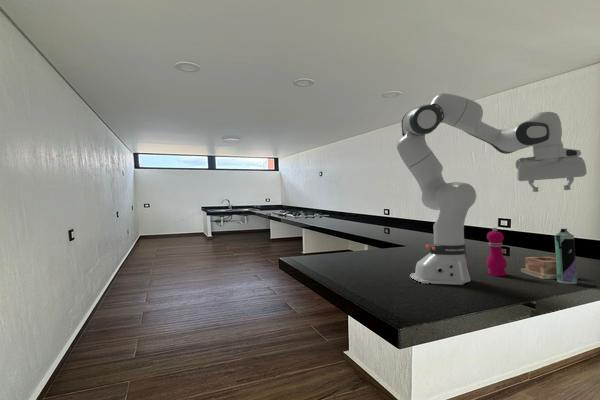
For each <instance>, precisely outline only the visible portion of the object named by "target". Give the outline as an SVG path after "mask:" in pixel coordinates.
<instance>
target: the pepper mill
mask: <svg viewBox="0 0 600 400" xmlns="http://www.w3.org/2000/svg"><path fill="white" fill-rule="evenodd" d="M504 238H505V237H504V235H503V233H502V232H501V231H498V228H497V227H494V226H493V227H492V231H489V232H487V234H486V240H487V241H488V247H489V255H488V256H487V258H486V266H487V267H488V270H487V272H488V275H490V276H495V277H505V276H506V275H507V271H506V270H505V269H507V266H508V265H507V260H506V259H505V257H504V254H503V250H502V247H503V241H504V240H505V239H504Z"/></svg>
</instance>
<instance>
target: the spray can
mask: <svg viewBox="0 0 600 400" xmlns="http://www.w3.org/2000/svg"><path fill="white" fill-rule="evenodd" d="M575 243H576V242H575V236H574V234H572V233H570V231H568V229H567V228H560V231H559V232H558V233H556V234H555V235H554V246H555V247H554V248H555V258H556V268H557V279H556V281H557V282H558V283H560V284H566V285H577V284H578V279H577V262H576V261H577V260H576V244H575Z"/></svg>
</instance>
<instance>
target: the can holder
mask: <svg viewBox="0 0 600 400" xmlns="http://www.w3.org/2000/svg"><path fill="white" fill-rule="evenodd" d="M524 260H525V261H524V263H525V267H523V268H520V272H521V273H524V274H527V275H528V276H529V275H530V276H533V277H536V278H540V279H543V280H557V268H556V257H553V256H530V257H529V256H527V257H524ZM579 277H580V276H579V274H577V280H578V279H579Z"/></svg>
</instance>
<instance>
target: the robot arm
mask: <svg viewBox="0 0 600 400" xmlns="http://www.w3.org/2000/svg"><path fill="white" fill-rule="evenodd" d="M483 115H484V110H483V107H482V105H481V104H480V103H478V102H476V101H474V100H472V99H469V98H466V97H464V96H461V95H456V94H451V93H445V92H442V93H438V94H437V95H436V96H434V97H433V99H432V100H431V102H430V103H429V104H424V105H420V106H417V107H413V108H412V109H411V110H409V111H408V112H406V113H405V114H404V115H403V117H402V119H401V131H402V133H401V134H402V137H401V138H400V139H399V141H398V142H397V144H396V150H397V152H398V154H399V156H400V158H401V160H402V162H403V163H404V165H405V166H406V167H407V168H408V170H409V171H410V173H411V174H412V176H413V178H415V180H416V183H418V186H419V188H420V191H421V202H422V204H423V205H424V206H425V207H426V208H428V209H431V210H435V211H439V214H438V218H437V219H436V221H435V222H434V223H433V226H432V227H433V228H432V229H433V243H432V244H426V245H425V248H426V250H429V253H427V254H426V255H425V256H424V257H422V258H420V259H419V260H418V261H417V262H416V265H415V272H412V273H410V274H409V278H410V277H411V278H412V279H414V280H416V281H418V282H417V283H419V282H421V283H420V284H429V283H431V284H432V285H434V284H435V285H460V286H462V285H465V283H469V282H471V277H470V275H469V274H470V273H469V271H468V270H469V269H468V267H467V266H468V265H467V260H466V258H467V248H466V244H465V222H466V218H467V214H468V211H469V210H470V208H471V207H473V205H474V204H475V202H476V200H477V192H476V189H475V188H474V187H473V185H471V184H470V183H466V182H461V181H460V182H459V181H454V182H446V181H445V180H444V179H445V178H443V173H442V172H443V169H444V167H443V164H442V163H441V162H440V160H439V159H438V157H437V156H436V155H435V153H434V151H432V149H431V148H430V146H428V144H427V142H426V135H429V134H430V133H433V132H434V130H436V129H437V128H438V127H439V125H440V124H441V123H442V124H445V125H448V126H451V127H453V128H456V129H459V130H460V131H462V132H465V133H466V134H467V135H470V136H472V137H474V138H476V139H478V140H481V141H482V142H484V143H487V144H488V145H490V146H491V147H493V149H495V150H496V151H497V152H499V153H501V154H506V155H507V154H509V155H510V154H512V153H514V152H518V151H520V150H523V149H526V148H529V147H532V151H533V156H528V157H521V158H519V159H517V160H516V161H515V168H516V169H517V172H516V180H517V181H519V182H527V183H528V185H529V186H530V187H531V188H532V192H533V193H536V192H537V193H539V186H535V181H543V180H555V179H556V180H557V179H566V181H568V182H567V183H566V184H565V185H563V190H564V191H570V190H571V185H572V184H573V183H574V182H575V180H574V179H575V178H582V177H585V176H586V175H587V173H588V172H587V166H586V163H585V159H584V158H583V157H582V156H581V155H582V151H581V150H579V149H575V148H574V149H573V148H565V147H564V143H563V142H562V137H563V128H562V122H561V118H560V116H559V115H558V113H557V112H554V111H553V112H552V111H544V112H539V113H535V114H534V115H533V116H532V117H531V118H529V119H527V120H525V121H523V122H520V123H517V124H516V125H515V124H514V126H511V127H509V128H503V129H499V128H496V127H494V126H491V125H489V124H487V123H485V122H484V121H482V119H483ZM411 278H410V279H411ZM412 279H411V280H412ZM414 280H413V281H414ZM416 281H415V282H416Z"/></svg>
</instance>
